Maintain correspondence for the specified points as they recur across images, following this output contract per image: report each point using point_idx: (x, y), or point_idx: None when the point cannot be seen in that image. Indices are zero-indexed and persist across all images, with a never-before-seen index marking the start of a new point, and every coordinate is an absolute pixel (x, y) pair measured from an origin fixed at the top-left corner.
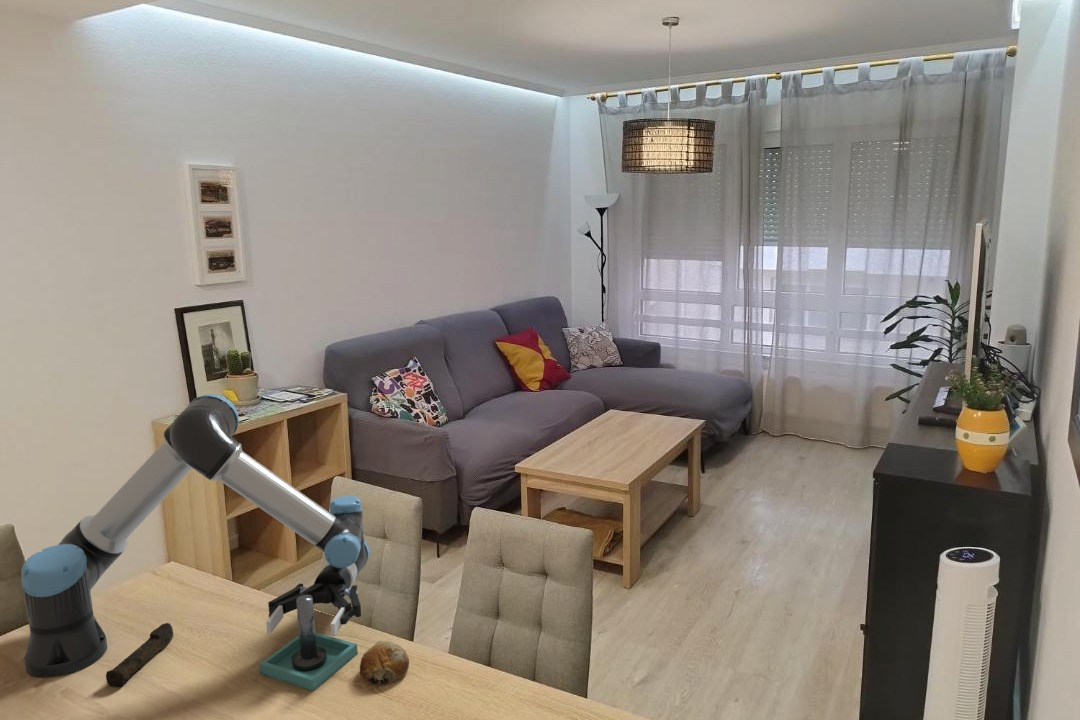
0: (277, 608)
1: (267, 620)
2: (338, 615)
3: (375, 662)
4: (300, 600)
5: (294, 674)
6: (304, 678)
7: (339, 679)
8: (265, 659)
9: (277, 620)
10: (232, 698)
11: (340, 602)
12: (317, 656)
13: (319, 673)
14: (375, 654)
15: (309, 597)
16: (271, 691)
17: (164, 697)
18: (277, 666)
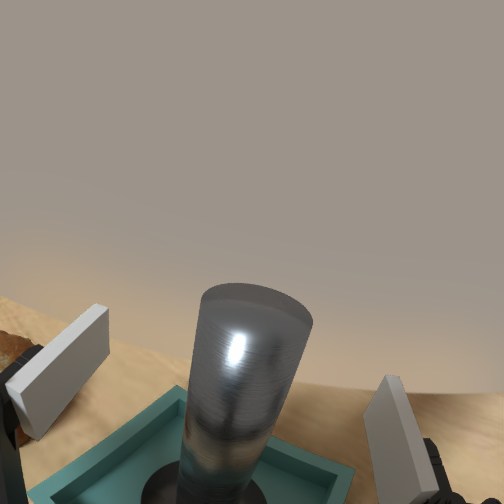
0: (426, 462)
1: (400, 382)
2: (59, 339)
3: (19, 336)
4: (277, 302)
5: None
6: None
7: (107, 424)
8: (348, 487)
9: (383, 458)
10: (354, 415)
11: (4, 469)
12: (172, 492)
13: (159, 402)
14: (8, 337)
15: (223, 308)
16: (280, 426)
17: (464, 417)
18: (295, 455)
